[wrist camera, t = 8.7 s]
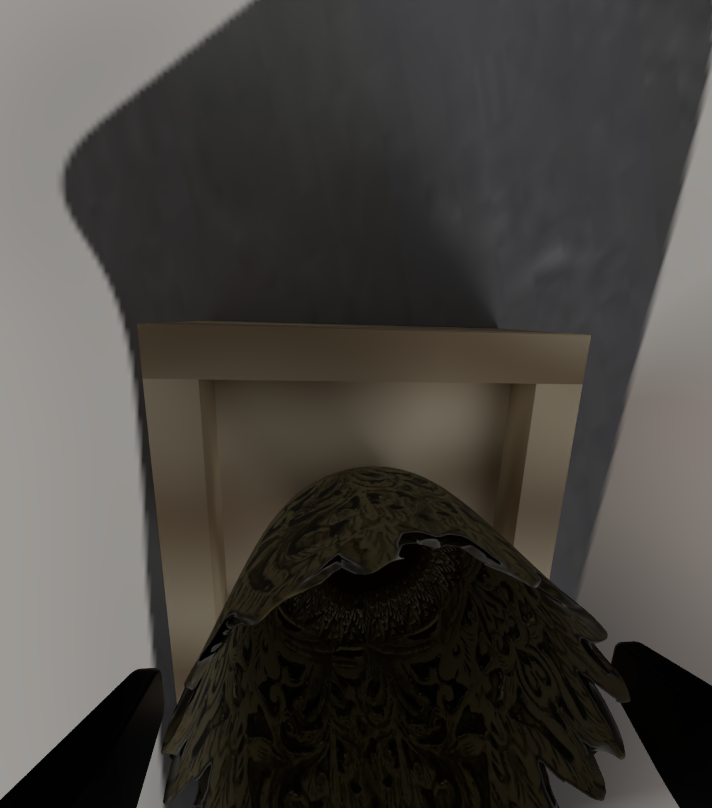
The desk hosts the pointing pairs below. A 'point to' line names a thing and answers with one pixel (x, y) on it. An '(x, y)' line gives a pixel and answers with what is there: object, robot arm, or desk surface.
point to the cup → (392, 664)
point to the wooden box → (343, 435)
